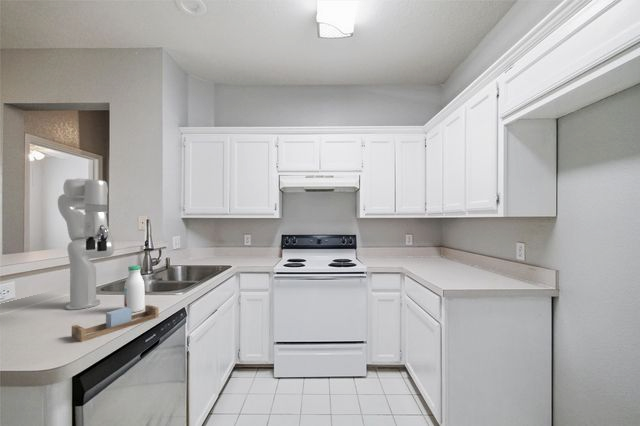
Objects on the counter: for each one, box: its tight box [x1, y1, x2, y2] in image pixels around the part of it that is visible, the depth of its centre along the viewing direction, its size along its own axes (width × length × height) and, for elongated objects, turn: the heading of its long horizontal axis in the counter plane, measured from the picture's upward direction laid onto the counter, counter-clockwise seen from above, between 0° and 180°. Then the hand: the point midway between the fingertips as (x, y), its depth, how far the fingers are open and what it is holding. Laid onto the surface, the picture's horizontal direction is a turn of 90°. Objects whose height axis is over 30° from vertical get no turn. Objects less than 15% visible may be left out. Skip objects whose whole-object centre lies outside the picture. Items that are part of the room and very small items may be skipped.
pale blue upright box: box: [105, 307, 132, 329], centre depth 109 cm, size 4×7×6 cm, turn 150°
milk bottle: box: [123, 264, 146, 314], centre depth 127 cm, size 8×8×20 cm
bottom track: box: [71, 304, 160, 343], centre depth 109 cm, size 8×26×4 cm, turn 151°
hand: (96, 250), depth 118 cm, fingers open, 9 cm apart
